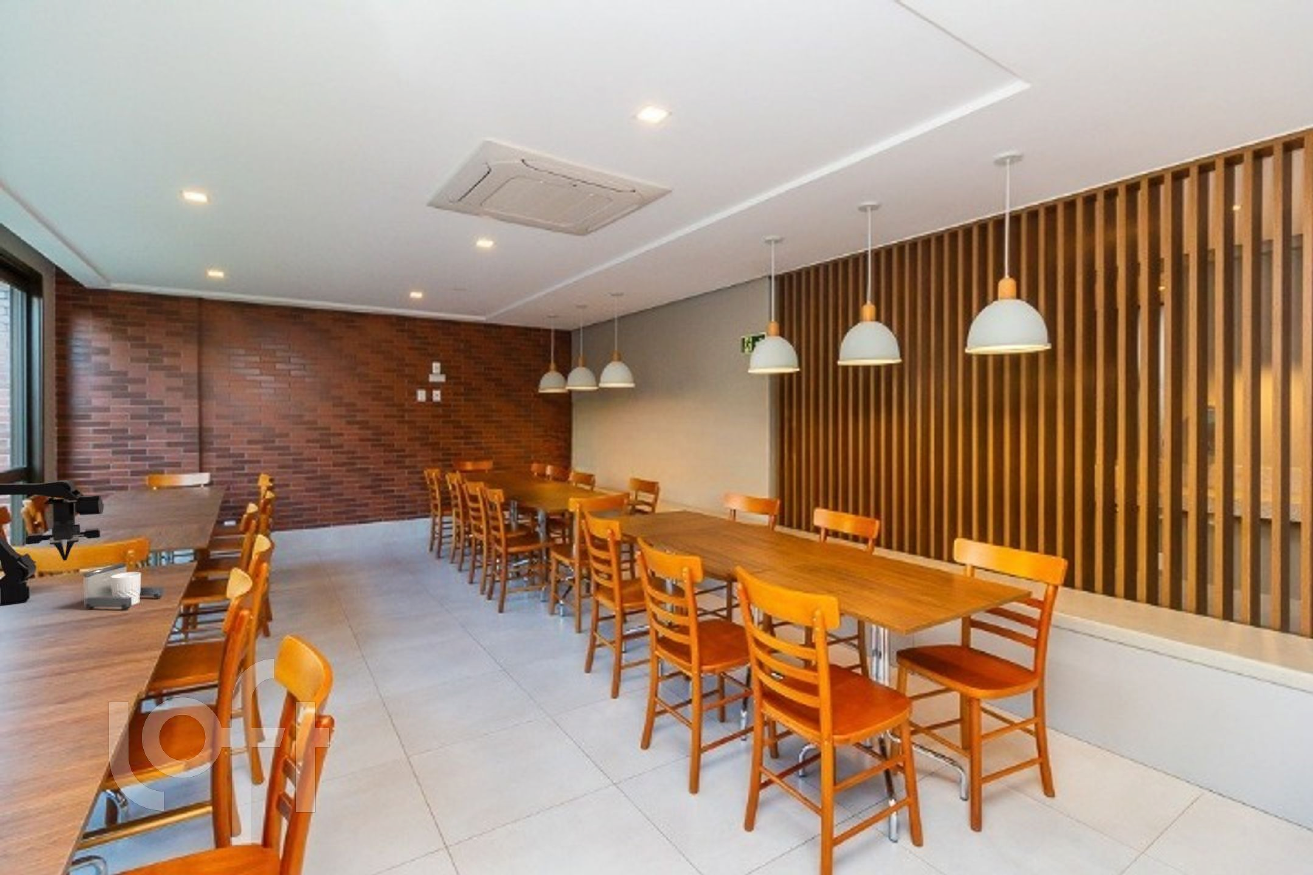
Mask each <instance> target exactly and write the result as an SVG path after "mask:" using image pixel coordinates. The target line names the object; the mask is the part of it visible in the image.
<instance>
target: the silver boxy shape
mask: <svg viewBox="0 0 1313 875" xmlns="http://www.w3.org/2000/svg"><path fill="white" fill-rule="evenodd" d="M127 572H128V571H127V564H126V562H122V563H119V564H114V565H111V566H107V567H106V566H105V567H102V568H99V569H97V570H93V571H89V572H84V574H83V603H84V605H83V606H84V607H85V608H86V610H93V609H94V608H95V607H96V608H97V607H99V608H100V607H101V608H102V607H103V608H105V607H107V608H121V609H122V610H124V611H125V610H126V611H127V610H129V609H130V608H131V606H133V605H132V602H131V597H112V589H111V576H113V575H116V574H120V573H127ZM163 595H164V586H145V585H144V586H141V589H140V597H144V596H145V597H146V596H147V597H154V599H161V598H162V597H163Z"/></svg>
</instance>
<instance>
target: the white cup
mask: <svg viewBox="0 0 1313 875" xmlns="http://www.w3.org/2000/svg"><path fill="white" fill-rule="evenodd" d="M141 580H142V572H139V571H129V572H128V571H127V573H120V574H116V575H113V576H111V589H112V597H131V602H132V606H133V605H137V604H140V601H141V600H140V599H141V598H140V597H141V596H140V589H141V584H142V581H141Z"/></svg>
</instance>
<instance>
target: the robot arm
mask: <svg viewBox="0 0 1313 875" xmlns="http://www.w3.org/2000/svg"><path fill="white" fill-rule="evenodd" d="M28 495H29V496H33V495H34V496H35V495H36V496H41V497H42V496H43V497H47V498H48V499H47V500H46V501H45V502H43V505H51V510H52V511H51V512H52V513H51V514H52V515H51V516H52V528H51V534H44V533H43V532H40V533H29V534H28V535H27V536H26V537H25V545H36V544H37V545H39V544H40V543H41V542H42V541H43V542H44V541H49V545H53V546H54V547H55V548H56V550H57V551H58V552H59V554H60V557H61V559H62V560H63V562H64V561H67V560H68V558H69V555H70V552H71V549H72V547H73V545H74V544H75V543H78V542H79V541H80V538H86V539H87V540H88V539H89V540H90V539H98V538H101V529H99V527H96V528H95V527H94V528H86V529H85V531H81V524H79V523H78V524H77V523H76V516H75V515H76V514H78V515H80V516H91V515H92V516H93V515H103V514H104V506H105V503H104V502H103V499H102V495H101V494H99V495H98V494H97V495H91V496H90V495H89V496H88V495H87V496H85V495H84V494H83V493H82V492H81V491H80V490H78V489H77V486H76V484H75V482H73V481H72V480H71V479H70V480H69V479H68V480H67V479H62V480H56V481H55V480H54V481H49V482H48V481H47V482H43V483H42V482H41V483H0V496H28ZM65 540H67V541H66V547H64V543H63V541H65ZM36 563H37V561H36V560H34V559H33V558H32V557H31V556H30V554H29V553H25V554H21V553H18V552H17V551H16V550H15V548H13V547H12V546H11V544H9V542H8V541H7V540H6V539H5V538H4V537H3V535H1V534H0V567H1V569H2V570H1V571H2V572H3V574H4V575H3V576H2V577H1V578H0V606H6V605H12V604H13V605H15V604H22V603H27V602H28V600H30V598H31V587H30V585H28V580H29V579H30V577H31V576H32V575H34V574H35V573H36V570H37V565H36Z"/></svg>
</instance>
